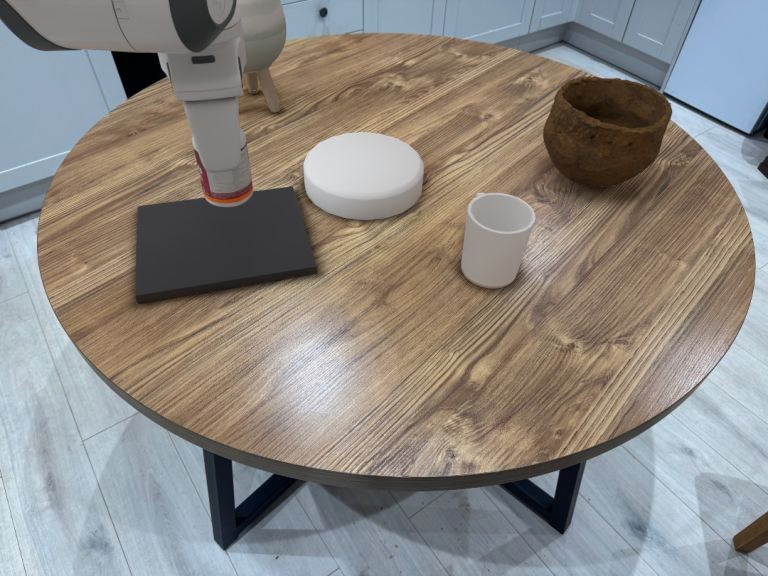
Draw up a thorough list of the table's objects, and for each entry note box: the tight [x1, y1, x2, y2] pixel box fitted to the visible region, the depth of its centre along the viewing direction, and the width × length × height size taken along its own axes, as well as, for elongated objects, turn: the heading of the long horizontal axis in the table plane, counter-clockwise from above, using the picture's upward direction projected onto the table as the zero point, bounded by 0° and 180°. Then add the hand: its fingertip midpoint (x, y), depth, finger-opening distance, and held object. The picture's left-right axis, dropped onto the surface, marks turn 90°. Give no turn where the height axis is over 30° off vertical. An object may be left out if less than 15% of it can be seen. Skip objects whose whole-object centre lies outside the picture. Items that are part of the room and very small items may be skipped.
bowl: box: [542, 75, 673, 188], centre depth 95 cm, size 19×19×15 cm
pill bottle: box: [191, 120, 254, 207], centre depth 68 cm, size 6×6×11 cm
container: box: [302, 131, 425, 221], centre depth 95 cm, size 20×20×5 cm
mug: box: [460, 192, 536, 290], centre depth 79 cm, size 11×9×10 cm
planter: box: [237, 0, 287, 114], centre depth 107 cm, size 16×16×22 cm
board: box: [134, 185, 318, 304], centre depth 84 cm, size 24×20×2 cm
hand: (223, 163), depth 69 cm, fingers closed on pill bottle, 6 cm apart
